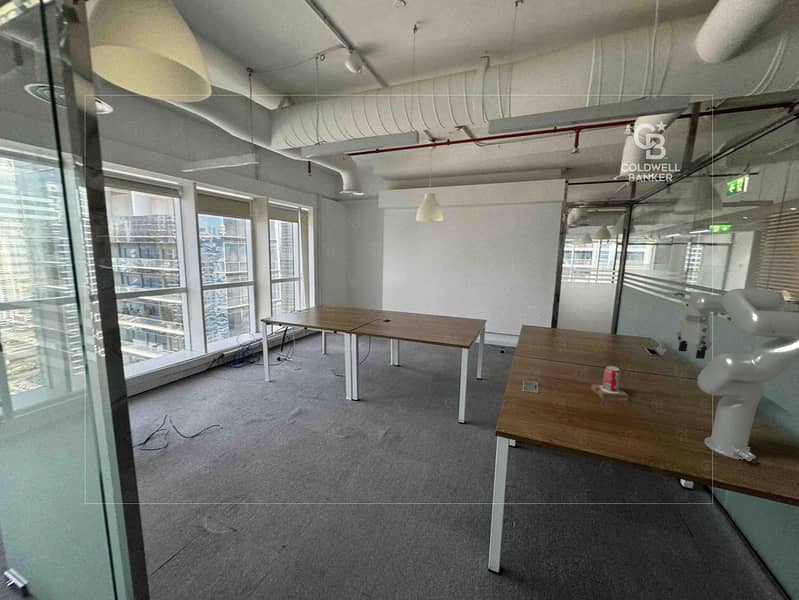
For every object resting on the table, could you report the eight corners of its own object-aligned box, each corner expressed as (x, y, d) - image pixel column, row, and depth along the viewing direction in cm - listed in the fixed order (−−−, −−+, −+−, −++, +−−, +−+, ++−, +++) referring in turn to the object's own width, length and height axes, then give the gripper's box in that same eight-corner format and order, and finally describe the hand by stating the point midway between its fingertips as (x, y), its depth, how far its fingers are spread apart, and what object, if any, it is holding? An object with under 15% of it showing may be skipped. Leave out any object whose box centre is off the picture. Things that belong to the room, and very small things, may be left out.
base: (627, 400, 156) (628, 395, 155) (603, 399, 157) (603, 393, 156) (613, 390, 168) (614, 384, 167) (591, 389, 169) (591, 383, 168)
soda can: (617, 388, 163) (620, 367, 161) (618, 393, 157) (621, 371, 155) (601, 385, 166) (604, 364, 164) (602, 390, 160) (605, 368, 158)
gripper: (723, 324, 131) (716, 361, 133) (689, 315, 148) (684, 349, 150) (704, 323, 131) (698, 361, 134) (673, 315, 148) (667, 348, 151)
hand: (690, 354), depth 142 cm, fingers open, 9 cm apart
